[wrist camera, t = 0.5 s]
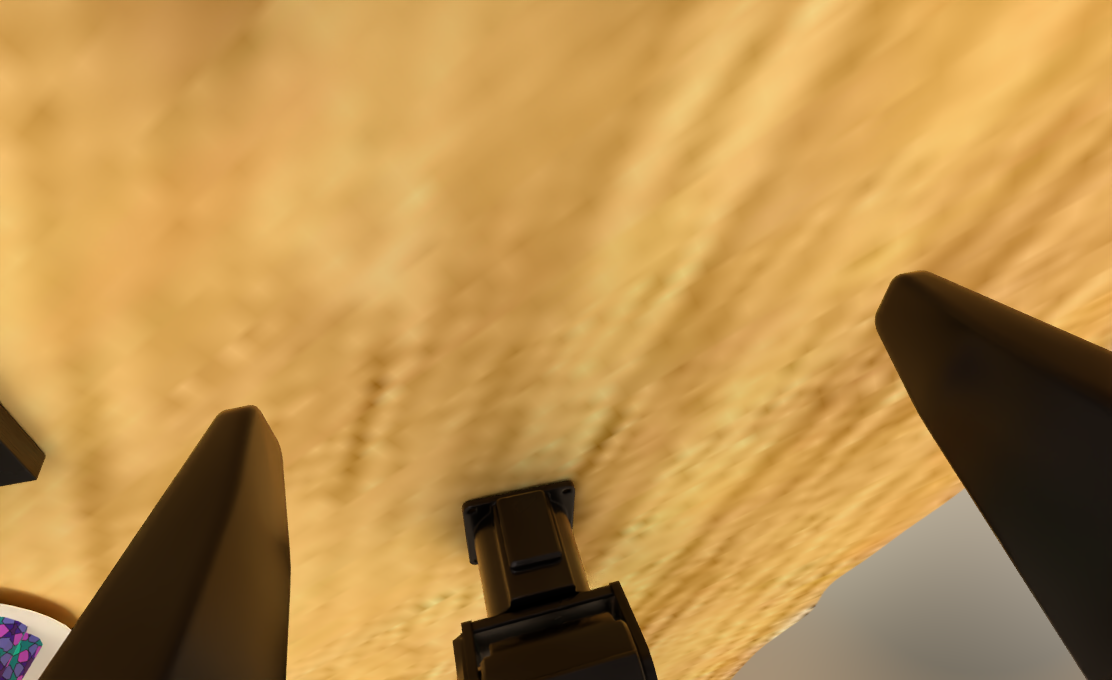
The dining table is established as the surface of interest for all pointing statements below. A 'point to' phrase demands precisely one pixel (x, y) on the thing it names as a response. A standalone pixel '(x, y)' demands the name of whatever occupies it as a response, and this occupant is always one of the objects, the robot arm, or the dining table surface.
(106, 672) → the robot arm
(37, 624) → the pudding
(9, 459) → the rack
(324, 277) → the dining table surface
